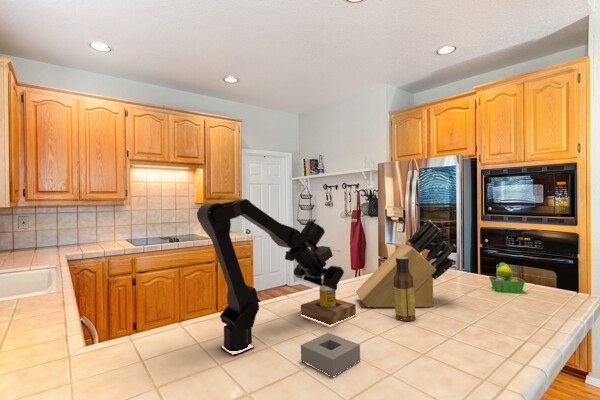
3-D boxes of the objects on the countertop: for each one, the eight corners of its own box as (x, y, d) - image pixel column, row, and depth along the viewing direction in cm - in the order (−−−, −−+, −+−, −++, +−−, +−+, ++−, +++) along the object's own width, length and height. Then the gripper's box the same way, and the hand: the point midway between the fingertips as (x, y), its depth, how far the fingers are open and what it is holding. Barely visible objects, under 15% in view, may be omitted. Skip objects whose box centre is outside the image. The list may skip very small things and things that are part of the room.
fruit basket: (494, 292, 128) (493, 265, 128) (488, 287, 137) (487, 261, 137) (526, 294, 125) (525, 266, 125) (518, 288, 133) (517, 262, 134)
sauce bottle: (412, 315, 105) (411, 255, 105) (417, 322, 98) (416, 259, 99) (392, 314, 105) (391, 255, 105) (396, 321, 99) (395, 258, 99)
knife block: (460, 307, 111) (458, 220, 111) (361, 309, 111) (359, 222, 112) (446, 298, 122) (444, 219, 122) (355, 299, 122) (354, 220, 123)
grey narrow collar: (332, 378, 68) (332, 359, 68) (301, 361, 75) (300, 344, 75) (360, 361, 75) (359, 344, 75) (328, 347, 82) (328, 332, 82)
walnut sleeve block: (330, 327, 95) (330, 314, 95) (300, 316, 105) (300, 304, 105) (355, 316, 104) (355, 304, 104) (326, 307, 114) (326, 296, 114)
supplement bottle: (328, 304, 108) (328, 276, 108) (339, 308, 104) (338, 279, 104) (316, 307, 105) (316, 279, 105) (326, 312, 101) (326, 282, 101)
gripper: (339, 241, 95) (362, 272, 102) (299, 236, 109) (322, 264, 116) (321, 270, 90) (347, 301, 97) (282, 262, 104) (307, 289, 111)
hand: (330, 287), depth 105 cm, fingers closed on supplement bottle, 5 cm apart
